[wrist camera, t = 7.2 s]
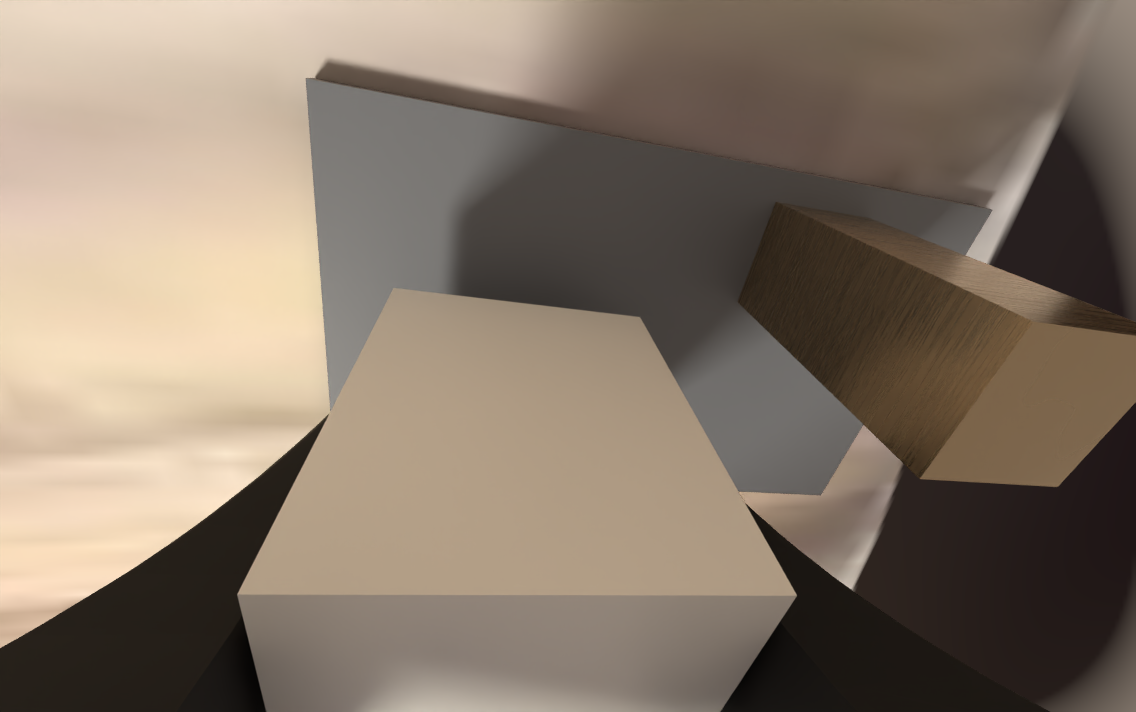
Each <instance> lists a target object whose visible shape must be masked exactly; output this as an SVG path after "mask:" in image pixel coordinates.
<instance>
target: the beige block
mask: <svg viewBox="0 0 1136 712" xmlns="http://www.w3.org/2000/svg"><path fill="white" fill-rule="evenodd" d="M237 596H238V600H239V604H240V608H241V612H242V616H243V620H244V624H245V628H246V632H247V636H248V640H249V644H250V648H251V652H252V656H253V660H254V664H255V668H256V672H257V676H258V680H259V684H260V688H261V692H262V696H263V700H264V704H265V708H266V712H720V711H721V710H722V708H723V707H724V705H725V704H726V702H727V701H728V699H729V698H730V696H731V695H732V693H733V692H734V690H735V689H736V687H737V686H738V684H739V683H740V681H741V680H742V678H743V677H744V675H745V674H746V672H747V671H748V669H749V668H750V666H751V664H752V663H753V661H754V660H755V658H756V657H757V655H758V654H759V652H760V651H761V649H762V648H763V646H764V645H765V643H766V642H767V640H768V639H769V637H770V636H771V634H772V633H773V631H774V630H775V628H776V627H777V625H778V624H779V622H780V621H781V619H782V618H783V616H784V615H785V613H786V612H787V610H788V609H789V607H790V606H791V604H792V603H793V601H794V600H795V598H796V597H797V595H796V593H795V591H794V589H793V587H792V586H791V584H790V582H789V580H788V579H787V577H786V575H785V573H784V572H783V570H782V568H781V566H780V564H779V563H778V561H777V559H776V557H775V556H774V554H773V552H772V550H771V548H770V547H769V545H768V543H767V541H766V540H765V538H764V536H763V534H762V533H761V531H760V529H759V527H758V525H757V524H756V522H755V520H754V518H753V517H752V515H751V513H750V511H749V509H748V508H747V506H746V504H745V502H744V501H743V499H742V497H741V495H740V494H739V492H738V490H737V488H736V486H735V485H734V483H733V481H732V479H731V478H730V476H729V474H728V472H727V470H726V469H725V467H724V465H723V463H722V462H721V460H720V458H719V456H718V455H717V453H716V451H715V449H714V447H713V446H712V444H711V442H710V440H709V439H708V437H707V435H706V433H705V431H704V430H703V428H702V426H701V424H700V423H699V421H698V419H697V417H696V416H695V414H694V412H693V410H692V408H691V407H690V405H689V403H688V401H687V400H686V398H685V396H684V394H683V392H682V391H681V389H680V387H679V385H678V384H677V382H676V380H675V378H674V376H673V375H672V373H671V371H670V369H669V368H668V366H667V364H666V362H665V361H664V359H663V357H662V355H661V353H660V352H659V350H658V348H657V346H656V345H655V343H654V341H653V339H652V337H651V336H650V334H649V332H648V330H647V329H646V327H645V325H644V323H643V322H642V320H641V318H640V317H635V316H627V315H618V314H610V313H602V312H593V311H585V310H576V309H568V308H559V307H551V306H543V305H534V304H526V303H517V302H509V301H500V300H492V299H483V298H475V297H467V296H458V295H450V294H441V293H433V292H424V291H416V290H408V289H399V288H393V290H392V292H391V294H390V296H389V298H388V300H387V302H386V304H385V306H384V308H383V310H382V312H381V314H380V316H379V318H378V320H377V322H376V323H375V325H374V327H373V329H372V331H371V333H370V335H369V337H368V339H367V341H366V343H365V345H364V347H363V349H362V351H361V353H360V355H359V357H358V359H357V361H356V363H355V365H354V367H353V369H352V371H351V372H350V374H349V376H348V378H347V380H346V382H345V384H344V386H343V388H342V390H341V392H340V394H339V396H338V398H337V400H336V402H335V404H334V406H333V408H332V410H331V412H330V414H329V416H328V418H327V420H326V421H325V423H324V425H323V427H322V429H321V431H320V433H319V435H318V437H317V439H316V441H315V443H314V445H313V447H312V449H311V451H310V453H309V455H308V457H307V459H306V461H305V463H304V465H303V467H302V468H301V470H300V472H299V474H298V476H297V478H296V480H295V482H294V484H293V486H292V488H291V490H290V492H289V494H288V496H287V498H286V500H285V502H284V504H283V506H282V508H281V510H280V512H279V514H278V516H277V517H276V519H275V521H274V523H273V525H272V527H271V529H270V531H269V533H268V535H267V537H266V539H265V541H264V543H263V545H262V547H261V549H260V551H259V553H258V555H257V557H256V559H255V561H254V563H253V565H252V566H251V568H250V570H249V572H248V574H247V576H246V578H245V580H244V582H243V584H242V586H241V588H240V590H239V592H238V594H237Z"/></svg>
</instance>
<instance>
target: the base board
mask: <svg viewBox="0 0 1136 712" xmlns="http://www.w3.org/2000/svg"><path fill="white" fill-rule="evenodd" d="M306 88H307V101H308V115H309V128H310V142H311V155H312V169H313V182H314V196H315V209H316V223H317V236H318V250H319V263H320V276H321V290H322V303H323V317H324V330H325V344H326V357H327V371H328V384H329V398H330V411H331V410H332V408H333V406H334V404H335V402H336V400H337V398H338V396H339V394H340V392H341V390H342V388H343V386H344V384H345V382H346V380H347V378H348V376H349V374H350V372H351V371H352V369H353V367H354V365H355V363H356V361H357V359H358V357H359V355H360V353H361V351H362V349H363V347H364V345H365V343H366V341H367V339H368V337H369V335H370V333H371V331H372V329H373V327H374V325H375V323H376V322H377V320H378V318H379V316H380V314H381V312H382V310H383V308H384V306H385V304H386V302H387V300H388V298H389V296H390V294H391V292H392V290H393V288H399V289H408V290H416V291H424V292H433V293H441V294H450V295H458V296H467V297H475V298H483V299H492V300H500V301H509V302H517V303H526V304H534V305H543V306H551V307H559V308H568V309H576V310H585V311H593V312H602V313H610V314H618V315H627V316H635V317H640V318H641V320H642V322H643V323H644V325H645V327H646V329H647V330H648V332H649V334H650V336H651V337H652V339H653V341H654V343H655V345H656V346H657V348H658V350H659V352H660V353H661V355H662V357H663V359H664V361H665V362H666V364H667V366H668V368H669V369H670V371H671V373H672V375H673V376H674V378H675V380H676V382H677V384H678V385H679V387H680V389H681V391H682V392H683V394H684V396H685V398H686V400H687V401H688V403H689V405H690V407H691V408H692V410H693V412H694V414H695V416H696V417H697V419H698V421H699V423H700V424H701V426H702V428H703V430H704V431H705V433H706V435H707V437H708V439H709V440H710V442H711V444H712V446H713V447H714V449H715V451H716V453H717V455H718V456H719V458H720V460H721V462H722V463H723V465H724V467H725V469H726V470H727V472H728V474H729V476H730V478H731V479H732V481H733V483H734V485H735V486H736V488H737V490H738V491H741V492H762V493H783V494H804V495H821V494H822V493H823V491H824V489H825V488H826V486H827V484H828V483H829V481H830V479H831V478H832V476H833V474H834V473H835V471H836V469H837V468H838V466H839V464H840V463H841V461H842V459H843V458H844V456H845V454H846V453H847V451H848V449H849V448H850V446H851V444H852V443H853V441H854V439H855V438H856V436H857V434H858V433H859V431H860V429H861V428H862V426H863V423H861V422H860V421H859V420H858V419H857V418H856V417H855V416H854V415H853V414H852V413H851V412H850V411H849V410H848V409H847V408H846V407H845V406H844V405H843V404H842V403H841V402H840V401H839V400H838V399H837V398H836V397H835V396H834V395H833V394H832V393H831V392H830V391H828V390H827V389H826V388H825V387H824V386H823V385H822V384H821V383H820V382H819V381H818V380H817V379H816V378H815V377H814V376H813V375H812V374H811V373H810V372H809V371H808V370H807V369H806V368H805V367H804V366H803V365H802V364H801V363H800V362H799V361H798V360H796V359H795V358H794V357H793V356H792V355H791V354H790V353H789V352H788V351H787V350H786V349H785V348H784V347H783V346H782V345H781V344H780V343H779V342H778V341H777V340H776V339H775V338H774V337H773V336H772V335H771V334H770V333H769V332H768V331H767V330H766V329H765V328H763V327H762V326H761V325H760V324H759V323H758V322H757V321H756V320H755V319H754V318H753V317H752V316H751V315H750V314H749V313H748V312H747V311H746V310H745V309H744V308H743V307H742V306H741V305H740V304H739V303H738V300H739V297H740V294H741V292H742V289H743V286H744V284H745V281H746V279H747V276H748V273H749V271H750V268H751V266H752V263H753V260H754V258H755V255H756V252H757V250H758V247H759V245H760V242H761V239H762V237H763V234H764V232H765V229H766V226H767V224H768V221H769V218H770V216H771V213H772V211H773V208H774V205H775V203H776V202H781V203H786V204H792V205H798V206H803V207H809V208H815V209H820V210H826V211H832V212H837V213H843V214H849V215H854V216H860V217H865V218H871V219H873V220H876V221H878V222H881V223H883V224H886V225H889V226H891V227H894V228H896V229H899V230H901V231H904V232H906V233H909V234H912V235H914V236H917V237H919V238H922V239H924V240H927V241H929V242H932V243H935V244H937V245H940V246H942V247H945V248H947V249H950V250H952V251H955V252H958V253H960V254H963V255H966V253H967V252H968V250H969V248H970V247H971V245H972V243H973V242H974V240H975V238H976V237H977V235H978V233H979V232H980V230H981V228H982V227H983V225H984V223H985V222H986V220H987V218H988V217H989V215H990V213H991V212H992V210H991V209H987V208H984V207H980V206H976V205H970V204H965V203H960V202H955V201H950V200H944V199H939V198H934V197H929V196H924V195H918V194H913V193H908V192H903V191H898V190H892V189H887V188H882V187H877V186H872V185H866V184H861V183H856V182H851V181H845V180H840V179H835V178H830V177H825V176H819V175H814V174H809V173H804V172H799V171H793V170H788V169H783V168H778V167H773V166H767V165H762V164H757V163H752V162H747V161H741V160H736V159H731V158H726V157H721V156H715V155H710V154H705V153H700V152H695V151H689V150H684V149H679V148H674V147H669V146H663V145H658V144H653V143H648V142H643V141H637V140H632V139H627V138H622V137H617V136H611V135H606V134H601V133H596V132H591V131H585V130H580V129H575V128H570V127H565V126H559V125H554V124H549V123H544V122H539V121H533V120H528V119H523V118H518V117H513V116H507V115H502V114H497V113H492V112H487V111H481V110H476V109H471V108H466V107H461V106H455V105H450V104H445V103H440V102H435V101H429V100H424V99H419V98H414V97H409V96H403V95H398V94H393V93H388V92H383V91H377V90H372V89H367V88H362V87H356V86H351V85H346V84H341V83H336V82H330V81H325V80H320V79H315V78H306Z"/></svg>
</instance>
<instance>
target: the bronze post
mask: <svg viewBox="0 0 1136 712" xmlns="http://www.w3.org/2000/svg"><path fill="white" fill-rule="evenodd" d="M738 303H739V304H740V305H741V306H742V307H743V308H744V309H745V310H746V311H747V312H748V313H749V314H750V315H751V316H752V317H753V318H754V319H755V320H756V321H757V322H758V323H759V324H760V325H761V326H762V327H763V328H765V329H766V330H767V331H768V332H769V333H770V334H771V335H772V336H773V337H774V338H775V339H776V340H777V341H778V342H779V343H780V344H781V345H782V346H783V347H784V348H785V349H786V350H787V351H788V352H789V353H790V354H791V355H792V356H793V357H794V358H795V359H796V360H798V361H799V362H800V363H801V364H802V365H803V366H804V367H805V368H806V369H807V370H808V371H809V372H810V373H811V374H812V375H813V376H814V377H815V378H816V379H817V380H818V381H819V382H820V383H821V384H822V385H823V386H824V387H825V388H826V389H827V390H828V391H830V392H831V393H832V394H833V395H834V396H835V397H836V398H837V399H838V400H839V401H840V402H841V403H842V404H843V405H844V406H845V407H846V408H847V409H848V410H849V411H850V412H851V413H852V414H853V415H854V416H855V417H856V418H857V419H858V420H859V421H860V422H861V423H863V424H864V425H865V426H866V427H867V428H868V429H869V430H870V431H871V432H872V433H873V434H874V435H875V436H876V437H877V438H878V439H879V440H880V441H881V442H882V443H883V444H884V445H885V446H886V447H887V448H888V449H889V450H890V451H891V452H892V453H893V454H894V455H896V456H897V457H898V458H899V459H900V460H901V461H902V462H903V463H904V464H905V465H906V466H907V467H908V468H909V469H910V470H911V471H912V472H913V473H914V474H915V475H916V476H917V477H918V478H919V479H931V480H947V481H965V482H981V483H999V484H1016V485H1017V484H1018V485H1034V486H1052V487H1058V486H1059V485H1060V484H1061V483H1062V481H1063V480H1064V479H1065V478H1066V477H1067V476H1068V475H1069V474H1070V473H1071V472H1072V471H1073V470H1074V468H1075V467H1076V466H1077V465H1078V464H1079V463H1080V462H1081V461H1082V460H1083V458H1085V457H1086V455H1087V454H1088V453H1089V452H1090V451H1091V450H1092V449H1093V448H1094V447H1095V446H1096V445H1097V443H1098V442H1099V441H1100V440H1101V439H1102V438H1103V437H1104V436H1105V435H1106V434H1107V433H1108V432H1109V430H1110V429H1111V428H1112V427H1113V426H1114V425H1115V424H1116V423H1117V422H1118V421H1119V420H1120V419H1121V417H1122V416H1123V415H1124V414H1125V413H1126V412H1127V411H1128V410H1129V409H1130V407H1132V406H1133V404H1134V403H1135V402H1136V322H1134V321H1131V320H1129V319H1126V318H1124V317H1121V316H1118V315H1116V314H1113V313H1111V312H1108V311H1106V310H1103V309H1101V308H1098V307H1096V306H1093V305H1090V304H1088V303H1085V302H1083V301H1080V300H1077V299H1075V298H1073V297H1070V296H1067V295H1065V294H1062V293H1060V292H1057V291H1055V290H1052V289H1050V288H1047V287H1044V286H1042V285H1039V284H1037V283H1034V282H1032V281H1029V280H1027V279H1024V278H1021V277H1019V276H1016V275H1014V274H1011V273H1009V272H1006V271H1004V270H1001V269H998V268H996V267H993V266H991V265H988V264H986V263H983V262H981V261H978V260H975V259H973V258H970V257H968V256H965V255H963V254H960V253H958V252H955V251H952V250H950V249H947V248H945V247H942V246H940V245H937V244H935V243H932V242H929V241H927V240H924V239H922V238H919V237H917V236H914V235H912V234H909V233H906V232H904V231H901V230H899V229H896V228H894V227H891V226H889V225H886V224H883V223H881V222H878V221H876V220H873V219H871V218H865V217H860V216H854V215H849V214H843V213H837V212H832V211H826V210H820V209H815V208H809V207H803V206H798V205H792V204H786V203H781V202H776V203H775V205H774V208H773V211H772V213H771V216H770V218H769V221H768V224H767V226H766V229H765V232H764V234H763V237H762V239H761V242H760V245H759V247H758V250H757V252H756V255H755V258H754V260H753V263H752V266H751V268H750V271H749V273H748V276H747V279H746V281H745V284H744V286H743V289H742V292H741V294H740V297H739V300H738Z"/></svg>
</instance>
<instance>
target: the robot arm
mask: <svg viewBox="0 0 1136 712" xmlns="http://www.w3.org/2000/svg"><path fill="white" fill-rule="evenodd" d="M328 416H329V415H327V416H326V417H325V418H324V419H323V420H322V421H321V422H320V423H319V424H318V425H317V426H316V427H315V428H314V429H312V430H311V431H310V432H309V433H308V434H307V435H306V436H305V437H304V438H303V439H302V440H300V441H299V442H298V443H297V444H296V445H295V446H294V447H293V448H291V449H290V450H289V451H288V452H287V453H286V454H285V455H283V456H282V457H281V458H280V459H279V460H278V461H276V462H275V463H274V464H273V465H272V466H271V467H269V468H268V469H267V470H266V471H265V472H264V473H262V474H261V475H260V476H259V477H258V478H256V479H255V480H254V481H253V482H252V483H250V484H249V485H248V486H246V487H245V488H244V489H243V490H241V491H240V492H239V493H238V494H236V495H235V496H234V497H232V498H231V499H230V500H229V501H227V502H226V503H225V504H223V505H222V506H221V507H220V508H218V509H217V510H216V511H215V512H213V513H212V514H211V515H209V516H208V517H207V518H205V519H204V520H203V521H201V522H200V523H198V524H197V525H196V526H194V527H193V528H192V529H190V530H189V531H187V532H186V533H185V534H183V535H182V536H180V537H179V538H178V539H176V540H175V541H173V542H172V543H170V544H169V545H168V546H166V547H165V548H163V549H162V550H160V551H159V552H157V553H156V554H154V555H153V556H151V557H150V558H148V559H147V560H145V561H144V562H143V563H141V564H139V565H138V566H136V567H135V568H133V569H132V570H130V571H129V572H127V573H126V574H124V575H122V576H121V577H119V578H118V579H116V580H114V581H113V582H111V583H110V584H108V585H106V586H105V587H103V588H101V589H100V590H98V591H96V592H95V593H93V594H91V595H90V596H88V597H86V598H85V599H83V600H82V601H80V602H78V603H77V604H75V605H73V606H72V607H70V608H68V609H67V610H65V611H63V612H62V613H60V614H58V615H57V616H55V617H54V618H52V619H50V620H49V621H47V622H45V623H44V624H42V625H40V626H39V627H37V628H35V629H33V630H32V631H30V632H28V633H26V634H25V635H23V636H21V637H19V638H18V639H16V640H14V641H12V642H11V643H9V644H7V645H5V646H3V647H2V648H0V712H266V708H265V704H264V700H263V696H262V692H261V688H260V684H259V680H258V676H257V672H256V668H255V664H254V660H253V656H252V652H251V648H250V644H249V640H248V636H247V632H246V628H245V624H244V620H243V616H242V612H241V608H240V604H239V600H238V596H237V594H238V592H239V590H240V588H241V586H242V584H243V582H244V580H245V578H246V576H247V574H248V572H249V570H250V568H251V566H252V565H253V563H254V561H255V559H256V557H257V555H258V553H259V551H260V549H261V547H262V545H263V543H264V541H265V539H266V537H267V535H268V533H269V531H270V529H271V527H272V525H273V523H274V521H275V519H276V517H277V516H278V514H279V512H280V510H281V508H282V506H283V504H284V502H285V500H286V498H287V496H288V494H289V492H290V490H291V488H292V486H293V484H294V482H295V480H296V478H297V476H298V474H299V472H300V470H301V468H302V467H303V465H304V463H305V461H306V459H307V457H308V455H309V453H310V451H311V449H312V447H313V445H314V443H315V441H316V439H317V437H318V435H319V433H320V431H321V429H322V427H323V425H324V423H325V421H326V420H327V418H328ZM745 504H746V503H745ZM746 506H747V508H748V509H749V511H750V513H751V515H752V517H753V518H754V520H755V522H756V524H757V525H758V527H759V529H760V531H761V533H762V534H763V536H764V538H765V540H766V541H767V543H768V545H769V547H770V548H771V550H772V552H773V554H774V556H775V557H776V559H777V561H778V563H779V564H780V566H781V568H782V570H783V572H784V573H785V575H786V577H787V579H788V580H789V582H790V584H791V586H792V587H793V589H794V591H795V593H796V595H797V597H796V598H795V600H794V601H793V603H792V604H791V606H790V607H789V609H788V610H787V612H786V613H785V615H784V616H783V618H782V619H781V621H780V622H779V624H778V625H777V627H776V628H775V630H774V631H773V633H772V634H771V636H770V637H769V639H768V640H767V642H766V643H765V645H764V646H763V648H762V649H761V651H760V652H759V654H758V655H757V657H756V658H755V660H754V661H753V663H752V664H751V666H750V668H749V669H748V671H747V672H746V674H745V675H744V677H743V678H742V680H741V681H740V683H739V684H738V686H737V687H736V689H735V690H734V692H733V693H732V695H731V696H730V698H729V699H728V701H727V702H726V704H725V705H724V707H723V708H722V710H721V711H720V712H1049V711H1048V710H1046V709H1044V708H1042V707H1040V706H1039V705H1037V704H1035V703H1033V702H1031V701H1029V700H1028V699H1026V698H1024V697H1022V696H1020V695H1018V694H1017V693H1015V692H1013V691H1011V690H1009V689H1007V688H1006V687H1004V686H1002V685H1000V684H998V683H997V682H995V681H993V680H991V679H989V678H988V677H986V676H984V675H983V674H981V673H979V672H977V671H976V670H974V669H973V668H971V667H969V666H967V665H966V664H964V663H963V662H961V661H959V660H958V659H956V658H954V657H953V656H951V655H949V654H948V653H946V652H944V651H943V650H941V649H940V648H938V647H936V646H934V645H932V644H931V643H930V642H928V641H927V640H925V639H923V638H922V637H920V636H919V635H917V634H916V633H914V632H912V631H911V630H909V629H908V628H906V627H905V626H903V625H902V624H900V623H899V622H897V621H896V620H894V619H893V618H891V617H890V616H888V615H887V614H885V613H884V612H882V611H881V610H880V609H878V608H877V607H875V606H874V605H872V604H871V603H869V602H868V601H866V600H865V599H863V598H862V597H861V596H859V595H858V594H856V593H855V592H853V591H852V590H851V589H849V588H848V587H847V586H845V585H844V584H842V583H841V582H840V581H838V580H837V579H836V578H834V577H833V576H832V575H830V574H829V573H828V572H826V571H825V570H824V569H823V568H821V567H820V566H819V565H817V564H816V563H815V562H814V561H812V560H811V559H810V558H808V557H807V556H806V555H805V554H803V553H802V552H801V551H799V550H798V549H797V548H796V547H795V546H793V545H792V544H791V543H790V542H789V541H787V540H786V539H785V538H784V537H783V536H781V535H780V534H779V533H778V532H777V531H776V530H775V529H773V528H772V527H771V526H770V525H769V524H768V523H767V522H766V521H764V520H763V519H762V518H761V517H760V516H759V515H758V514H756V513H755V512H754V511H753V510H752V509H751V508H750V507H749V506H748V505H747V504H746Z"/></svg>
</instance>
